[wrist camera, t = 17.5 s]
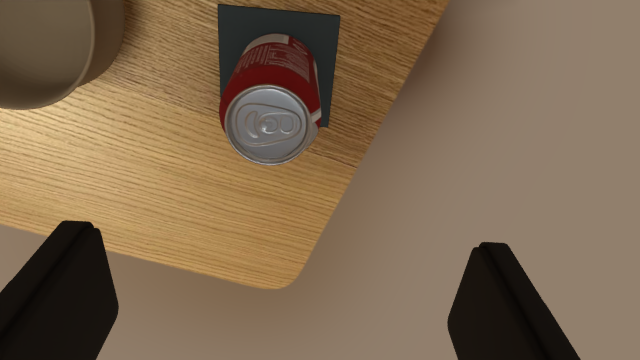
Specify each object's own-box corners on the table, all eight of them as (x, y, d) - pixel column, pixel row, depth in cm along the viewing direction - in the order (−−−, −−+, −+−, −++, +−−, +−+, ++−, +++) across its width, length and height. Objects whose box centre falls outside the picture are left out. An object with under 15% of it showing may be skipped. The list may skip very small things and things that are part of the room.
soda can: (235, 31, 34) (206, 75, 24) (316, 30, 34) (322, 73, 24) (243, 108, 38) (221, 175, 28) (317, 107, 38) (322, 172, 28)
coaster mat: (340, 15, 34) (340, 16, 34) (327, 125, 40) (328, 127, 39) (218, 3, 34) (217, 4, 33) (222, 117, 39) (221, 120, 38)
